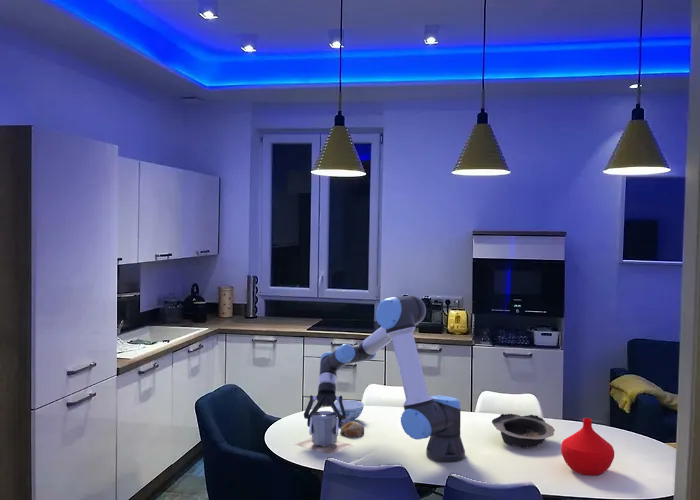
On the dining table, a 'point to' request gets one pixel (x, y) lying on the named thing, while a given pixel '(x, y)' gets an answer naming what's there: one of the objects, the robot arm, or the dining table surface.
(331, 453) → the striped cloth
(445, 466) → the dining table surface
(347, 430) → the bread roll
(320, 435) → the steel tin
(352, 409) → the chinaware
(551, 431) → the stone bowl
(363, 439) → the dining table surface
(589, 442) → the vase
